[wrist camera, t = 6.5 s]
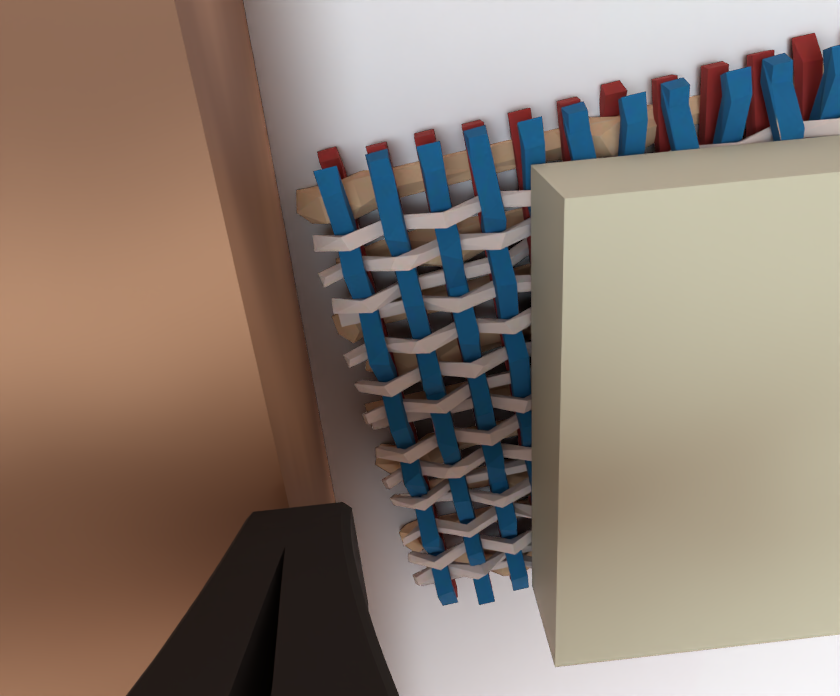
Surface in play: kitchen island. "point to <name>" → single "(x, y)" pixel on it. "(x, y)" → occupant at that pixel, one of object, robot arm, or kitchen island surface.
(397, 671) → the kitchen island surface
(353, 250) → the woven mat
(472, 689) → the kitchen island surface
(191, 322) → the wooden block
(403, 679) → the kitchen island surface
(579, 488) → the beige rectangular box
